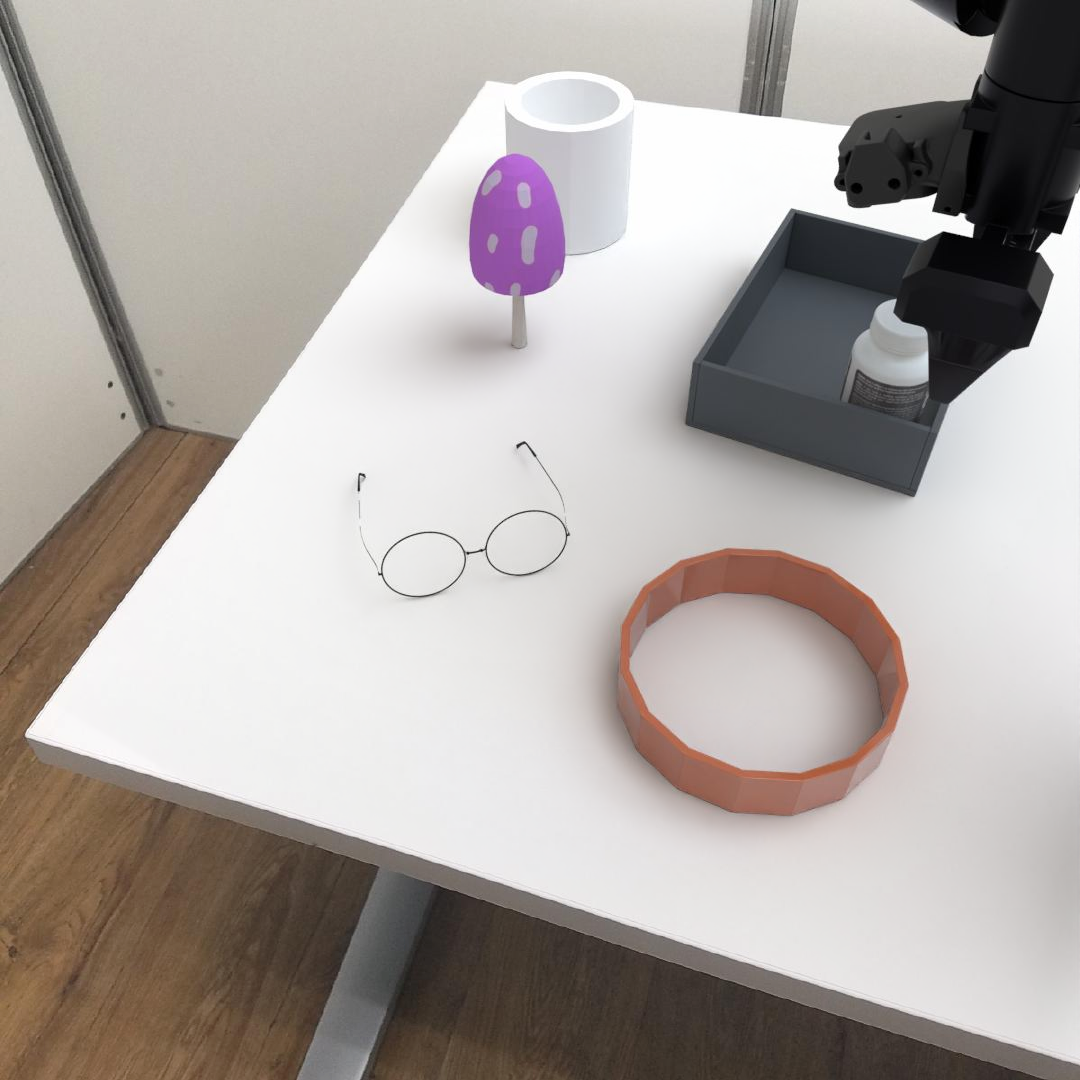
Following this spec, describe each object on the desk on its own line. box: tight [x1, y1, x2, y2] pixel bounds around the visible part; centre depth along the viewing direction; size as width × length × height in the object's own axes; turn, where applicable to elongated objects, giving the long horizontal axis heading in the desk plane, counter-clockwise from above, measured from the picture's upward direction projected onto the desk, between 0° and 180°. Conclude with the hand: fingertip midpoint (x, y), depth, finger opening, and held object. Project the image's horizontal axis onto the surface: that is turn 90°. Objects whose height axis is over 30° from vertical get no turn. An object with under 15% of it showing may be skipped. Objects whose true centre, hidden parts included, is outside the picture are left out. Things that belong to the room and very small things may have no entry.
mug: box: [504, 70, 635, 256], centre depth 89 cm, size 14×10×11 cm
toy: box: [468, 154, 566, 349], centre depth 75 cm, size 7×7×15 cm
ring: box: [616, 547, 910, 816], centre depth 58 cm, size 15×15×4 cm
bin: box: [684, 207, 950, 497], centre depth 76 cm, size 16×21×6 cm
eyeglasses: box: [356, 440, 571, 598], centre depth 66 cm, size 11×13×5 cm
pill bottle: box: [839, 299, 929, 424], centre depth 69 cm, size 5×5×10 cm
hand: (957, 353), depth 60 cm, fingers open, 9 cm apart
